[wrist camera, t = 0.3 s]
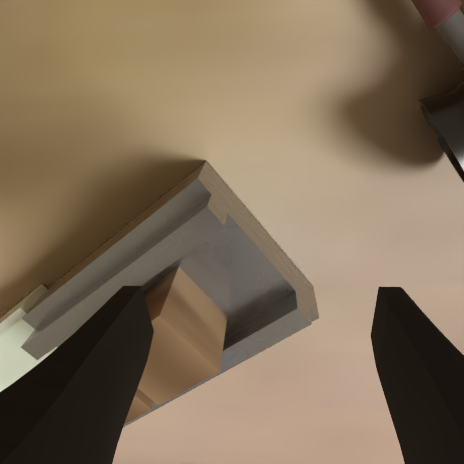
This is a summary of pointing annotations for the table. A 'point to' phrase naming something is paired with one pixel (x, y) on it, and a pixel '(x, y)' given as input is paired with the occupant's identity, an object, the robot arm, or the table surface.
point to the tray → (17, 341)
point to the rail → (187, 272)
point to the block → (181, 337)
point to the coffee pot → (460, 99)
